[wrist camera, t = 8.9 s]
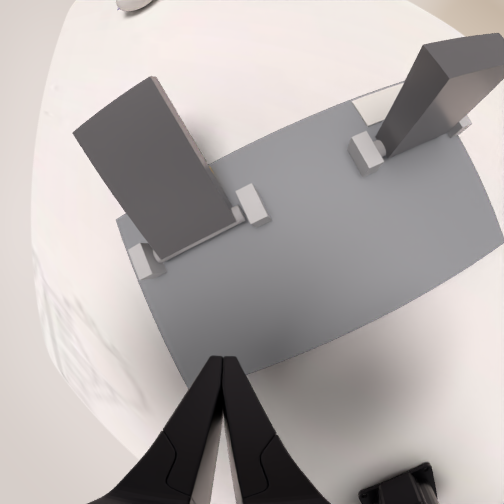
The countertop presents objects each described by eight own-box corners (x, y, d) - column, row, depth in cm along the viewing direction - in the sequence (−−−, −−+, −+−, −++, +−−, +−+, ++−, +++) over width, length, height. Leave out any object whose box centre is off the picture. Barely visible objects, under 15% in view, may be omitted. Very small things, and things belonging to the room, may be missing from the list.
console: (495, 241, 16) (523, 239, 13) (197, 384, 20) (179, 405, 17) (415, 85, 17) (429, 61, 14) (127, 221, 21) (98, 216, 18)
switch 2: (448, 133, 15) (524, 60, 6) (380, 163, 16) (441, 81, 7) (436, 114, 15) (503, 32, 6) (368, 142, 16) (414, 46, 7)
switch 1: (246, 225, 17) (157, 71, 12) (160, 268, 18) (67, 137, 13) (244, 214, 18) (162, 72, 13) (163, 255, 19) (78, 131, 14)
